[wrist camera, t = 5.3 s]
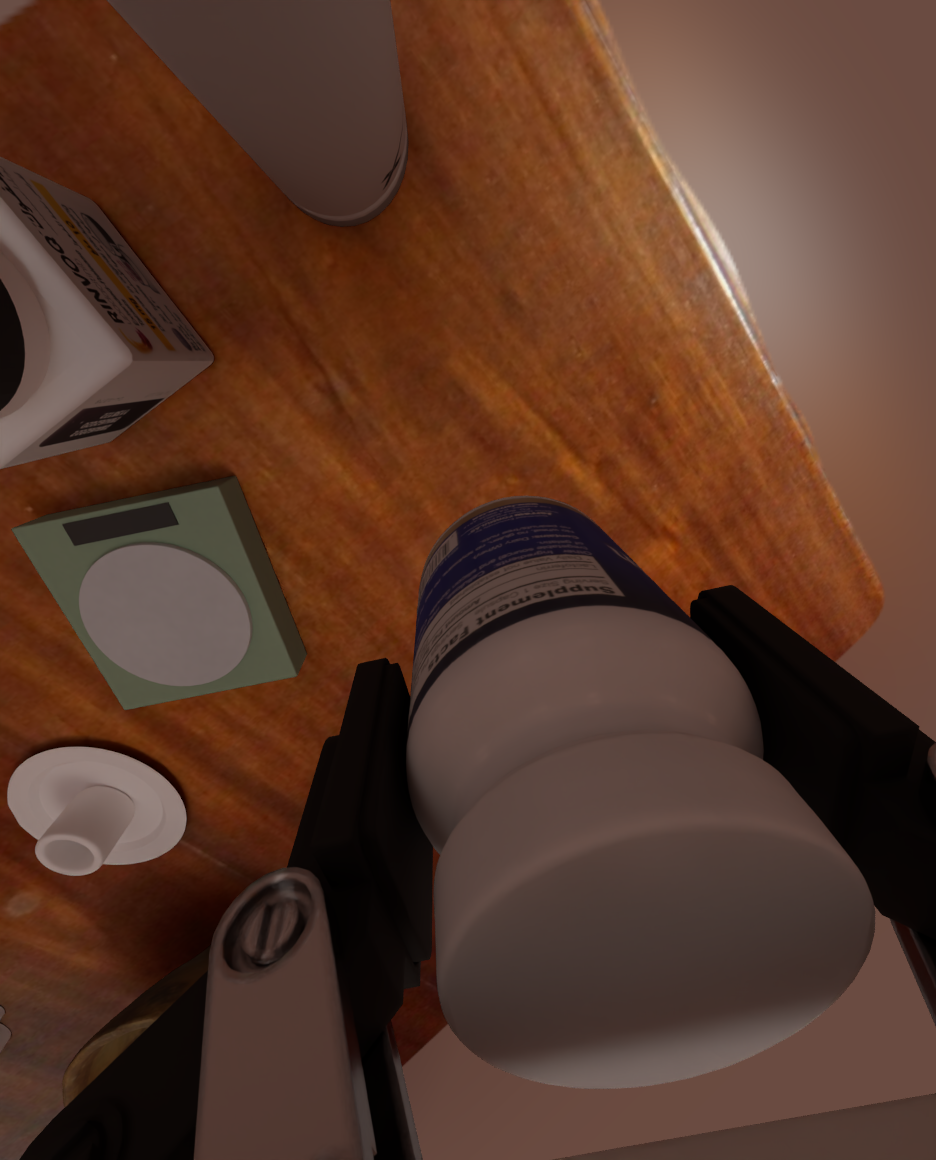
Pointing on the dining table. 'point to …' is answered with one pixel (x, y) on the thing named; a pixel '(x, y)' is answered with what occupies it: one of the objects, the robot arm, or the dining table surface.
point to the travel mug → (294, 91)
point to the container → (78, 325)
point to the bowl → (129, 1026)
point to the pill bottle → (608, 819)
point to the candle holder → (94, 809)
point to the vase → (3, 1031)
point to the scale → (169, 592)
